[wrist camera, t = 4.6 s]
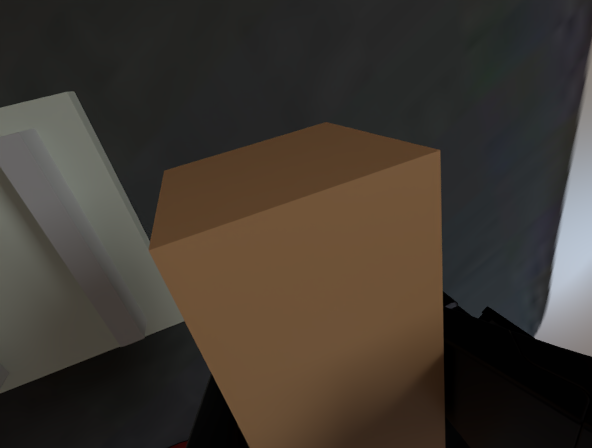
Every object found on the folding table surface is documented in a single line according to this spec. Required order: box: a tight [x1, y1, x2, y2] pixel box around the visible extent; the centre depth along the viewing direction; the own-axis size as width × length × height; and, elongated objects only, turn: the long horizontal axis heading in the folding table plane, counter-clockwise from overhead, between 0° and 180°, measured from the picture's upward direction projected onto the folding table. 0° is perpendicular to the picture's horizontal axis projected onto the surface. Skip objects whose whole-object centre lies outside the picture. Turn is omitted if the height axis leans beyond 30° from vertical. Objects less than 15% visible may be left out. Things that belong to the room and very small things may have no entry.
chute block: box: [148, 122, 445, 448], centre depth 8 cm, size 10×4×4 cm, turn 14°
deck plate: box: [0, 92, 184, 393], centre depth 15 cm, size 13×12×2 cm
